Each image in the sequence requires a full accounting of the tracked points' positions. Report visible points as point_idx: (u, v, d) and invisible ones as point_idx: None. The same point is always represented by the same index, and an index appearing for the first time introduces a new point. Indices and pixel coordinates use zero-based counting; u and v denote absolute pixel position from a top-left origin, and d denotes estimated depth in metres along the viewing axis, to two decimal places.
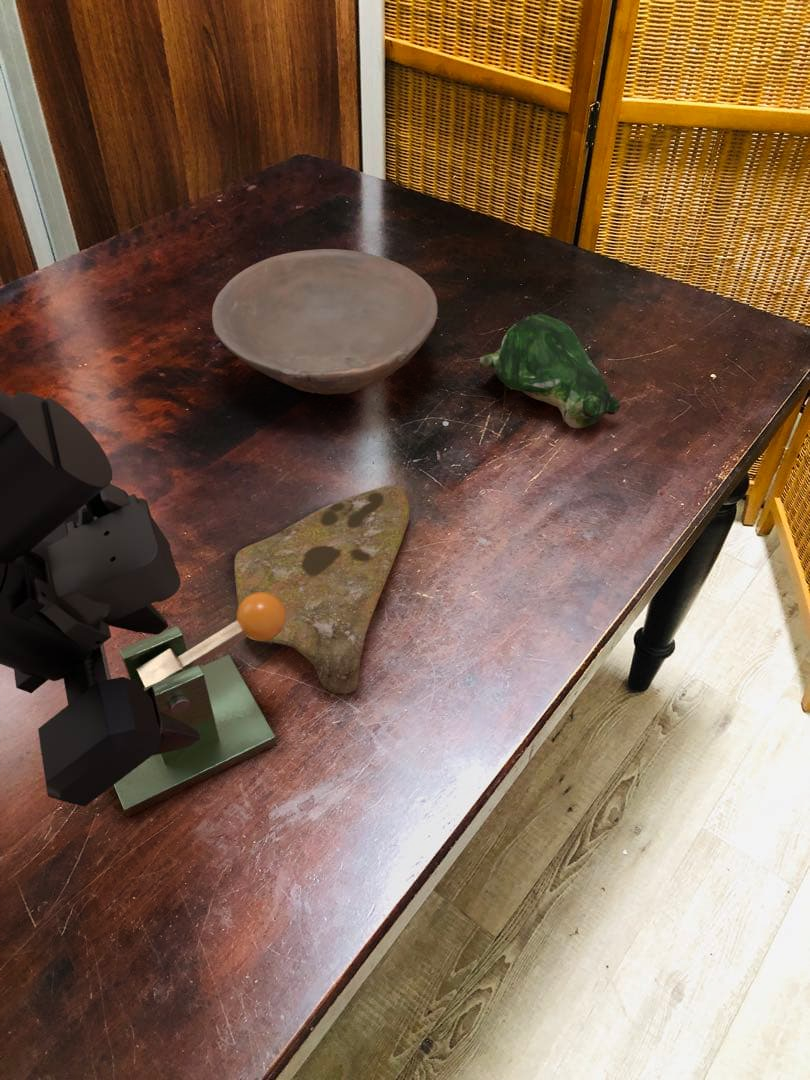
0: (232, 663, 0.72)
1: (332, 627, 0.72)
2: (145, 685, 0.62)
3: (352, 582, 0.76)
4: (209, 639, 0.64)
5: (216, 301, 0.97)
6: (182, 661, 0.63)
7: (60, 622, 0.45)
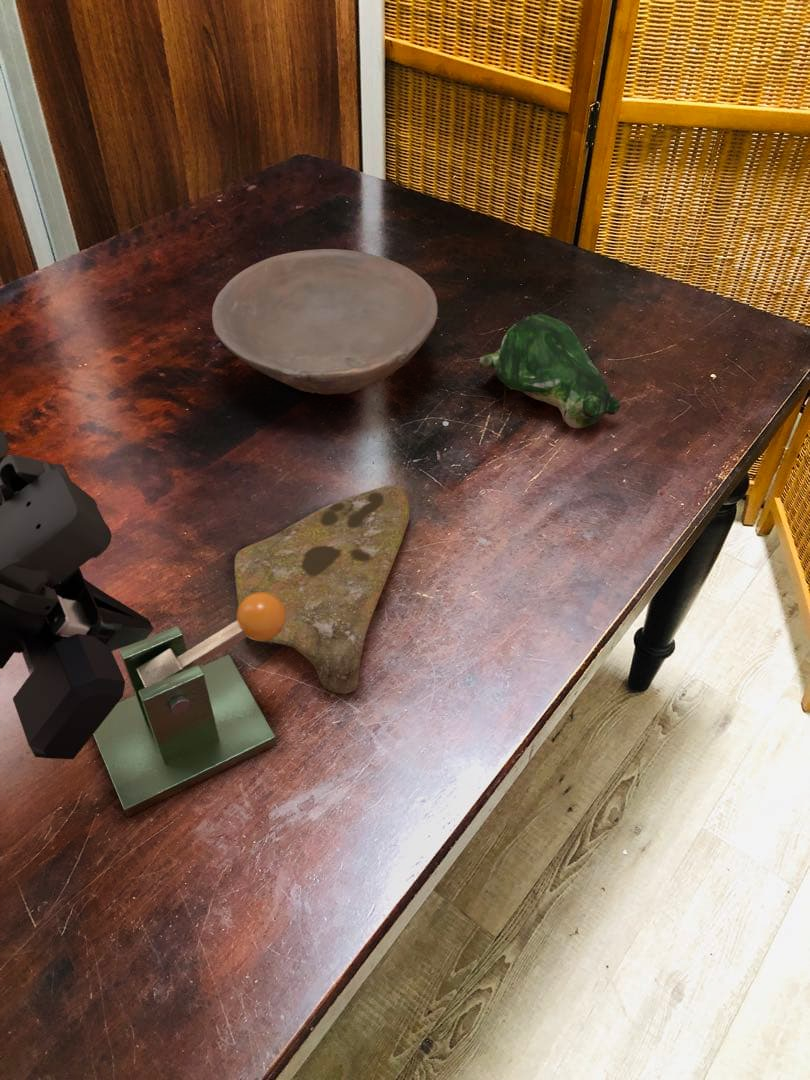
0: (232, 663, 0.72)
1: (332, 627, 0.72)
2: (145, 685, 0.62)
3: (352, 582, 0.76)
4: (209, 639, 0.64)
5: (216, 301, 0.97)
6: (182, 661, 0.63)
7: (4, 596, 0.47)
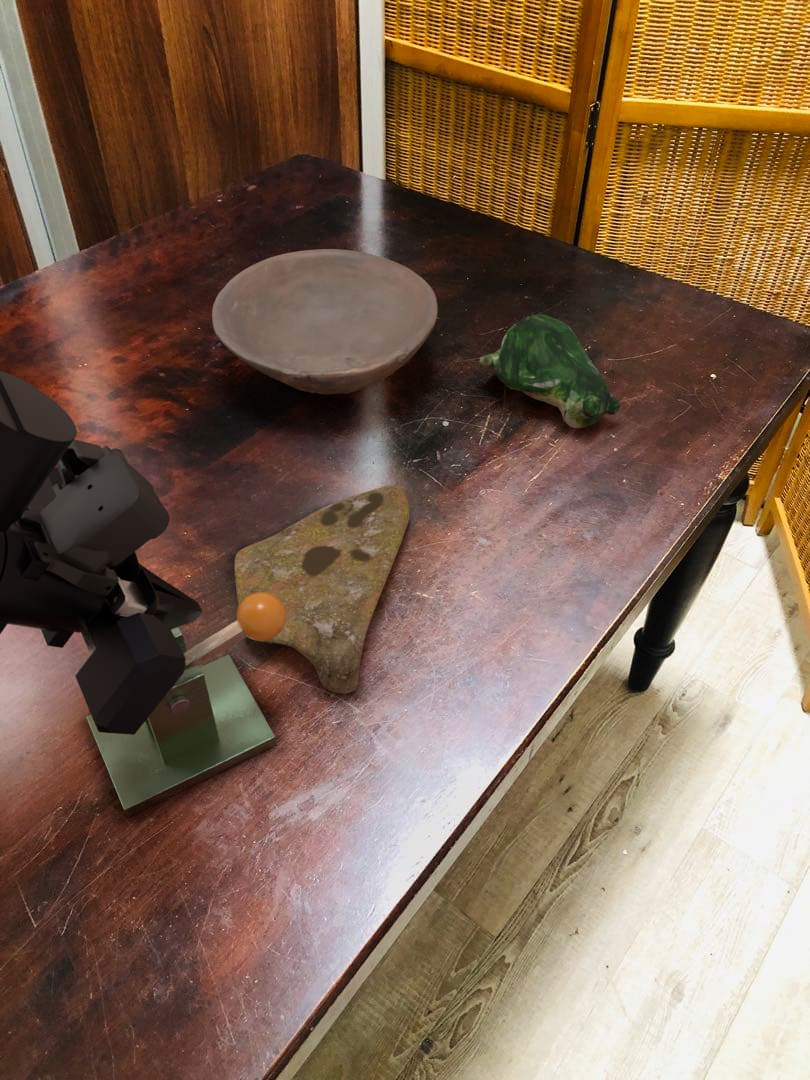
0: (232, 663, 0.72)
1: (332, 627, 0.72)
2: None
3: (352, 582, 0.76)
4: (209, 639, 0.64)
5: (216, 301, 0.97)
6: None
7: (68, 576, 0.49)
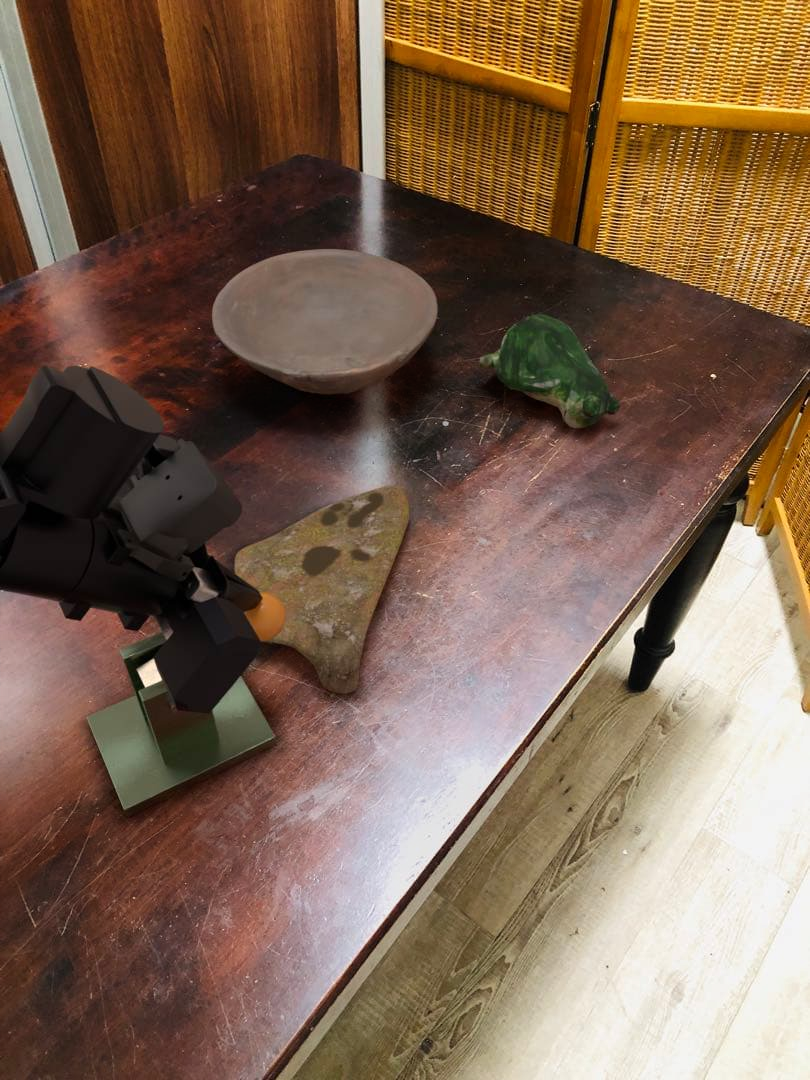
0: None
1: (332, 627, 0.72)
2: (145, 685, 0.62)
3: (352, 582, 0.76)
4: None
5: (216, 301, 0.97)
6: None
7: (149, 562, 0.51)
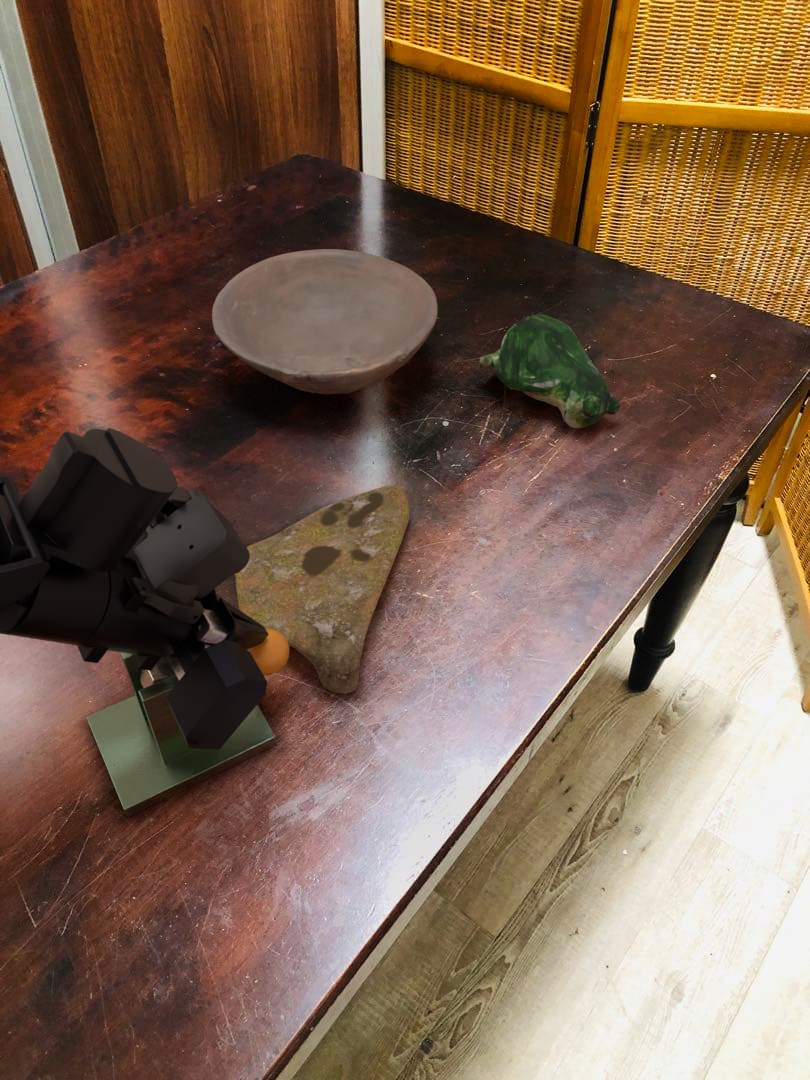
0: None
1: (332, 627, 0.72)
2: (152, 675, 0.61)
3: (352, 582, 0.76)
4: None
5: (216, 301, 0.97)
6: None
7: (162, 608, 0.54)
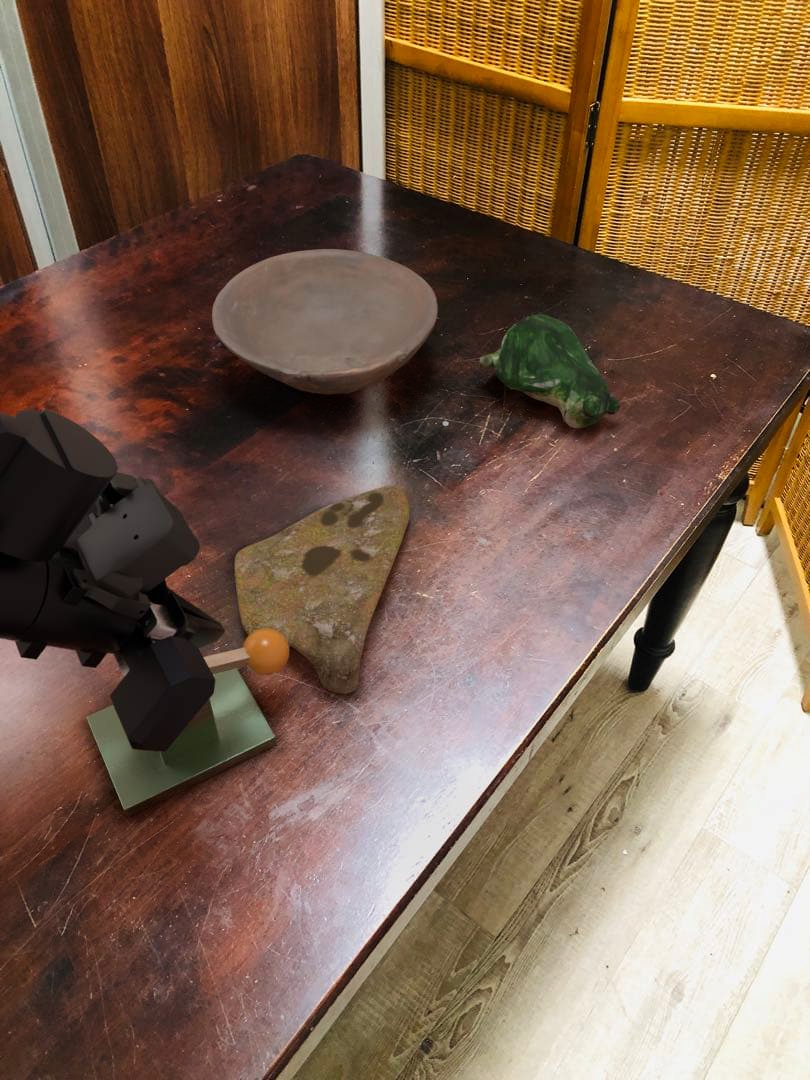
0: None
1: (333, 627, 0.72)
2: None
3: (352, 582, 0.76)
4: (216, 655, 0.65)
5: (216, 301, 0.97)
6: None
7: (105, 601, 0.51)
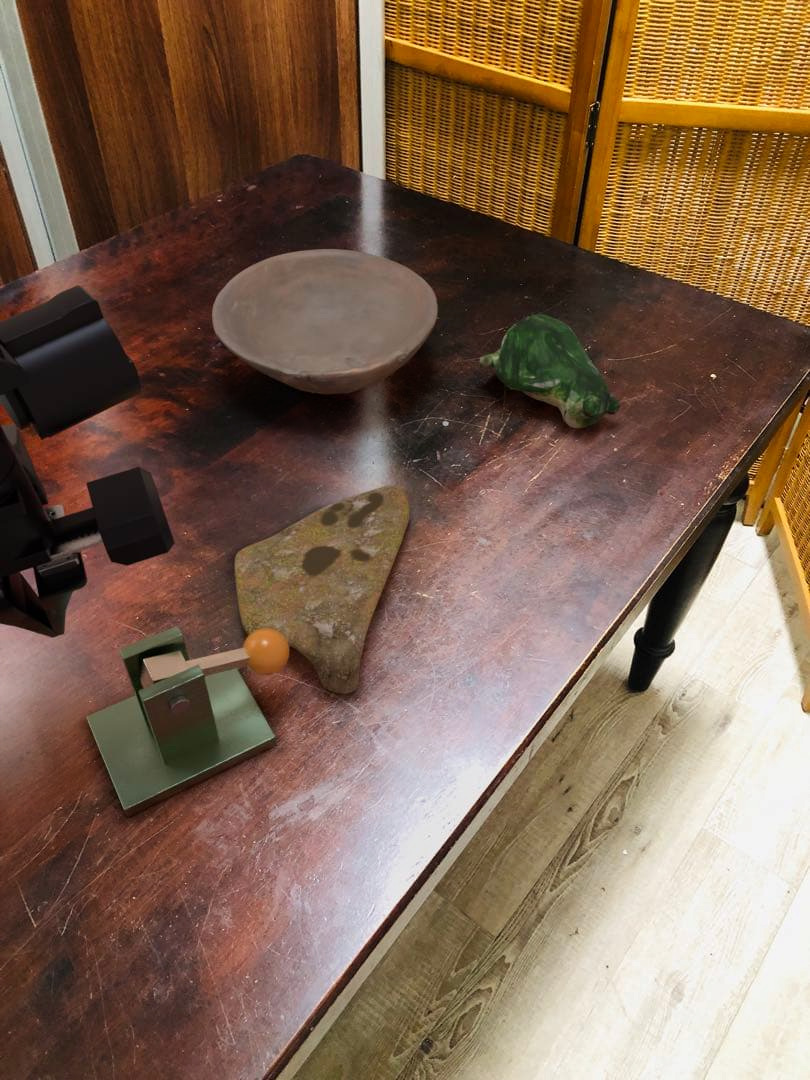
0: None
1: (333, 627, 0.72)
2: (152, 675, 0.61)
3: (352, 582, 0.76)
4: (216, 655, 0.65)
5: (216, 301, 0.97)
6: (187, 667, 0.64)
7: (27, 466, 0.53)
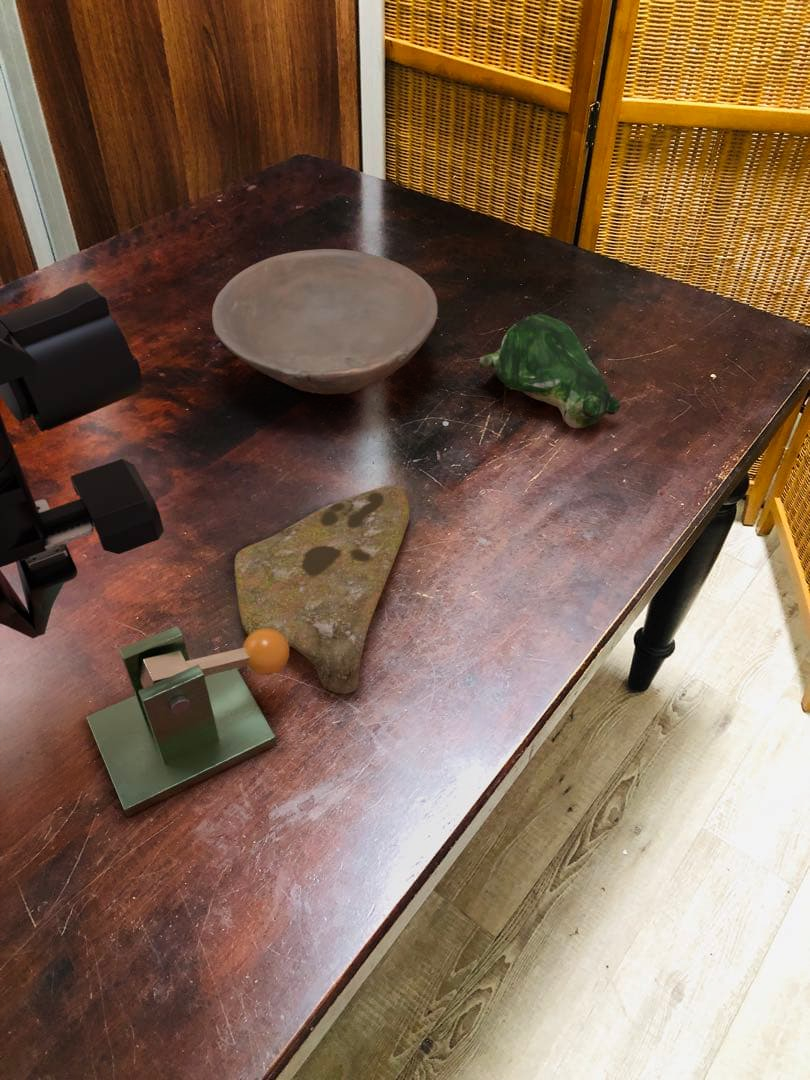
0: None
1: (333, 627, 0.72)
2: (152, 675, 0.61)
3: (352, 582, 0.76)
4: (216, 655, 0.65)
5: (216, 301, 0.97)
6: (187, 667, 0.64)
7: None
